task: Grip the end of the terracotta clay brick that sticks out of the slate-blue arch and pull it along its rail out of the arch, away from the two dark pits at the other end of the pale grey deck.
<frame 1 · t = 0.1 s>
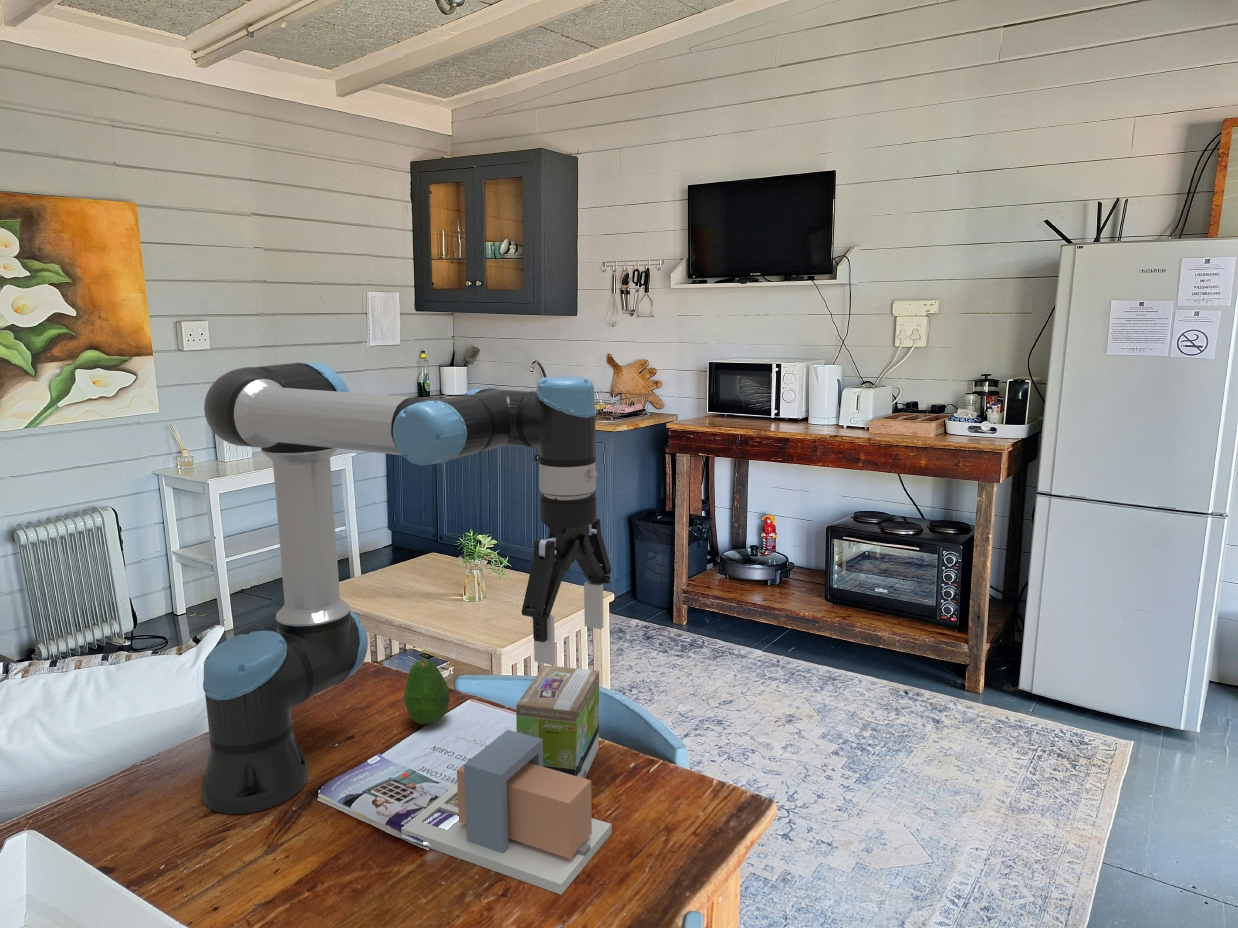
hand: (570, 643, 116), 28 cm above the table, tool pointing down, fingers open, 13 cm apart
avocado: (428, 723, 151), on the table
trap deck: (507, 835, 119), on the table
terracotta clay brick: (523, 801, 116), point 6 cm above the table, slide at 0.0 cm
tea box: (559, 771, 135), on the table
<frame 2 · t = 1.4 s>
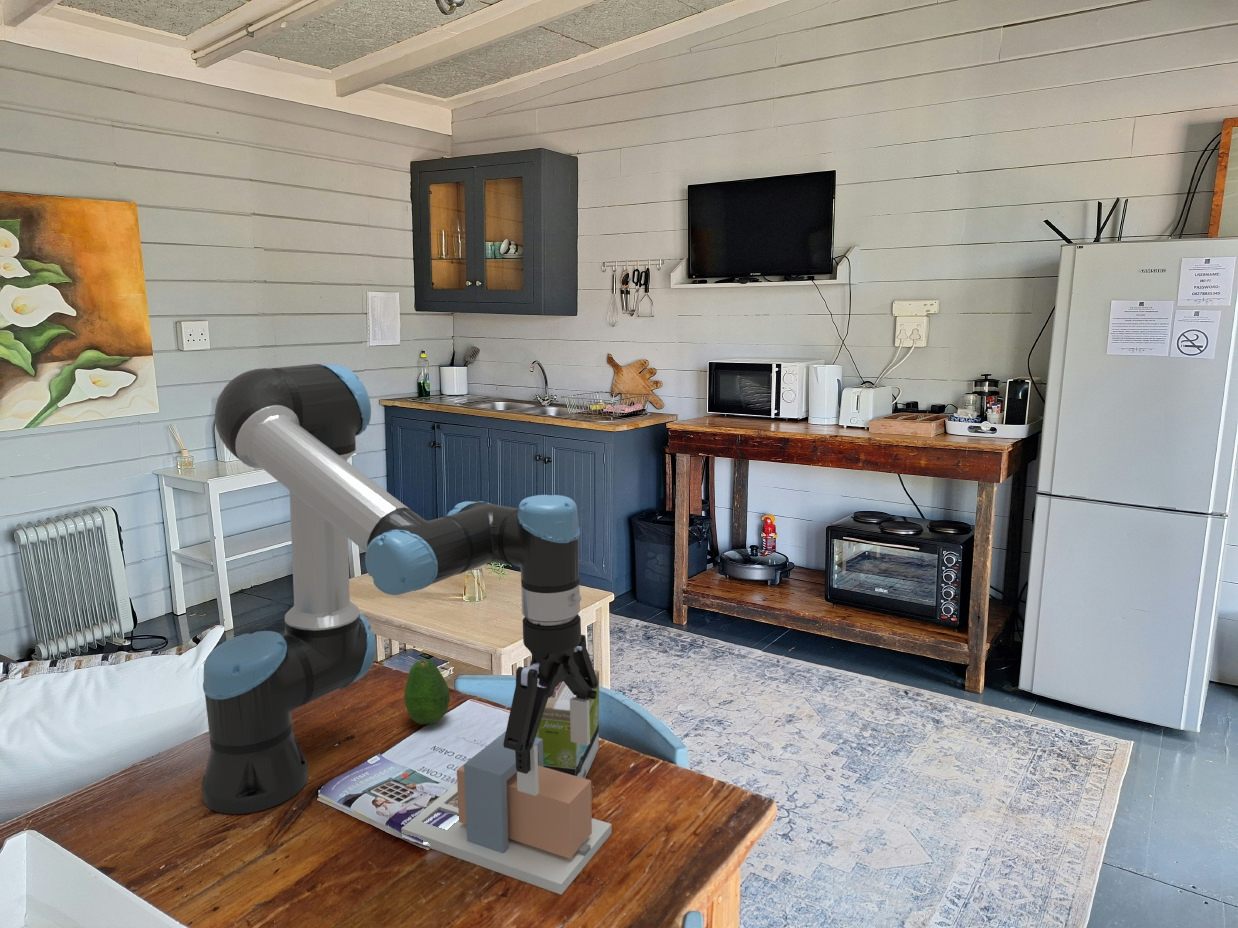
hand: (555, 765, 112), 13 cm above the table, tool pointing down, fingers open, 13 cm apart
nothing on the table moved.
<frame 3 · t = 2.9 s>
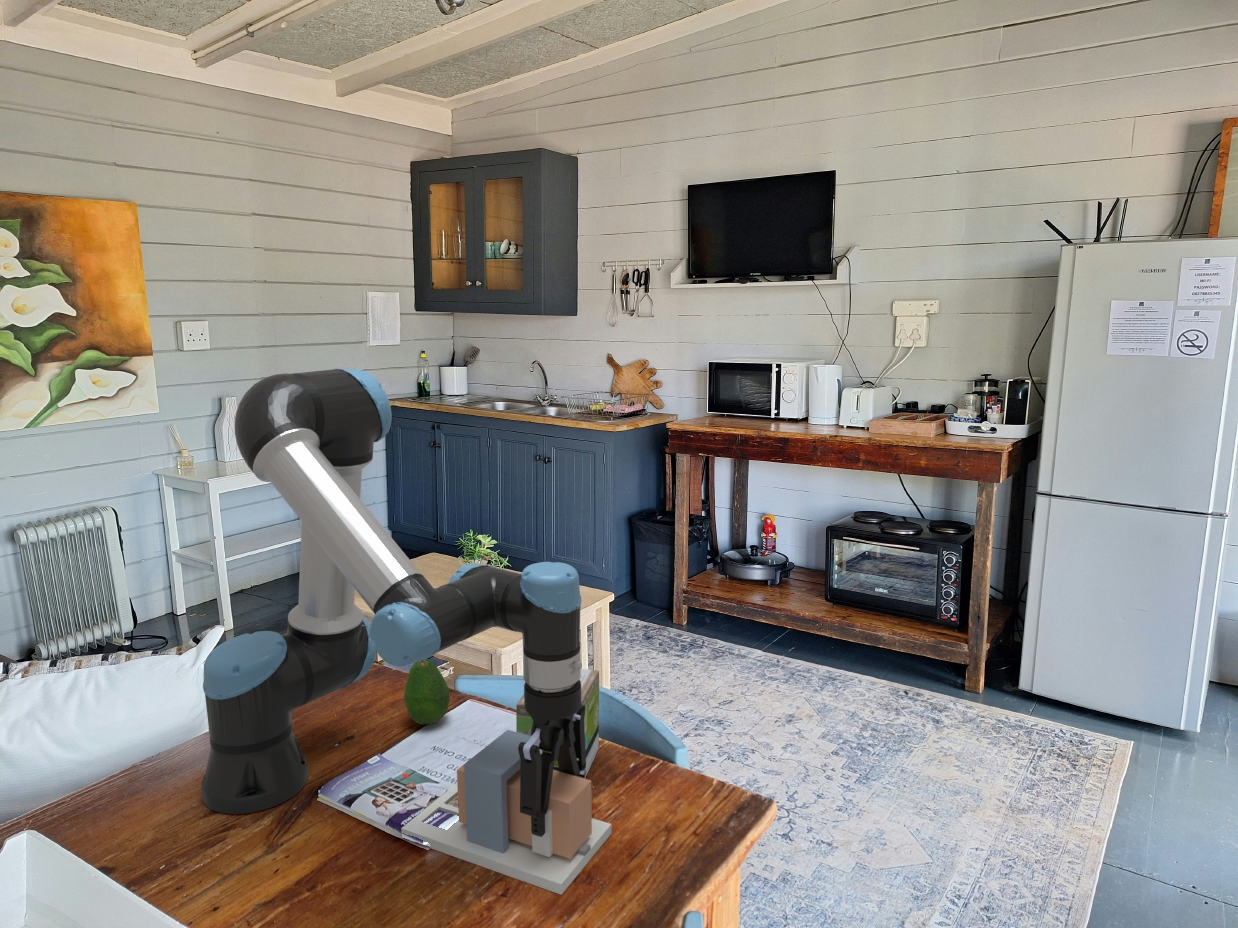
hand: (555, 838, 115), 2 cm above the table, tool pointing down, fingers closed on terracotta clay brick, 6 cm apart
terracotta clay brick: (523, 801, 116), point 6 cm above the table, slide at 0.0 cm, touching gripper
everything else where it was.
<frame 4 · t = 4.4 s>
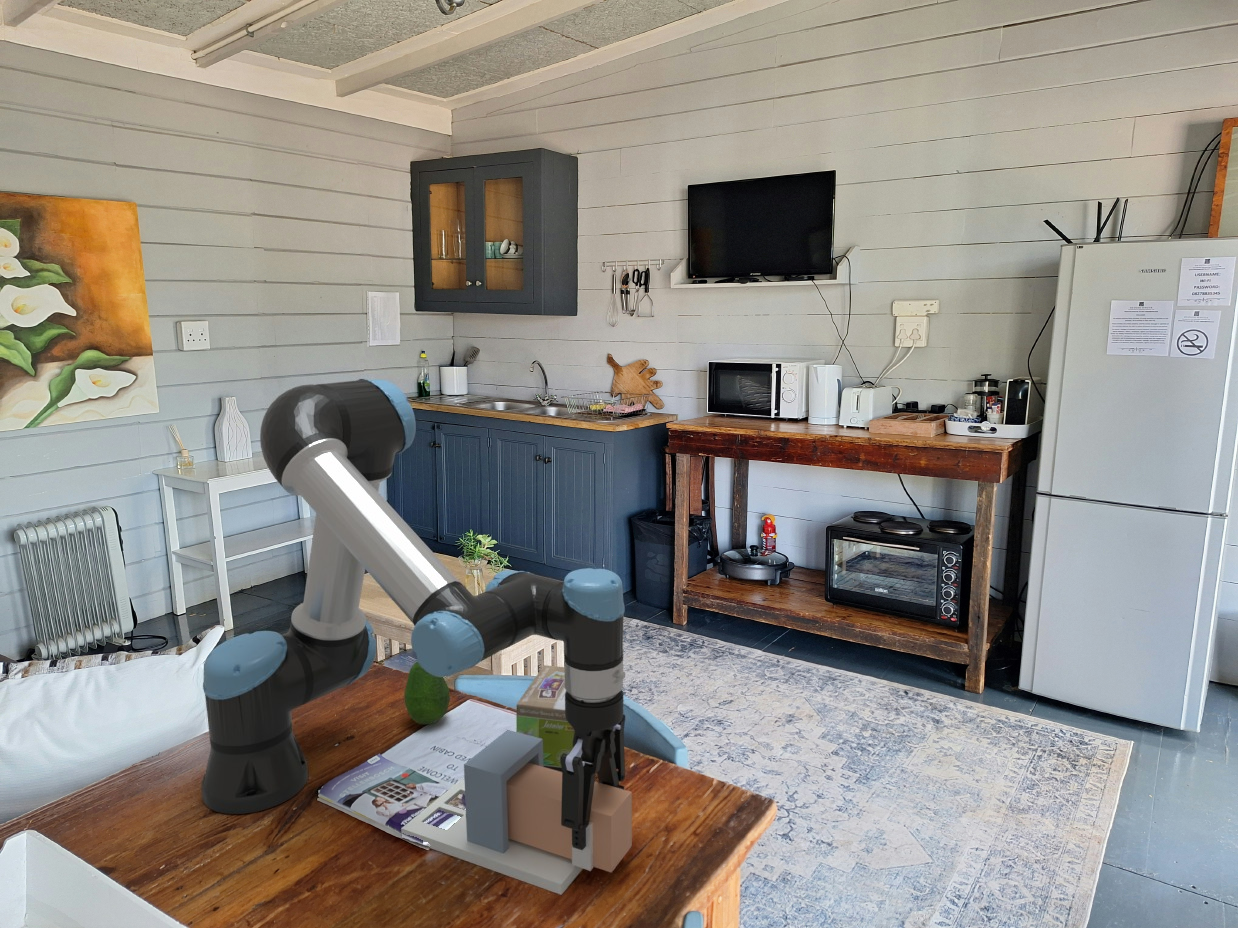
hand: (594, 850, 112), 2 cm above the table, tool pointing down, fingers closed on terracotta clay brick, 6 cm apart
terracotta clay brick: (562, 812, 113), point 6 cm above the table, slide at 6.1 cm, touching gripper
everything else where it was.
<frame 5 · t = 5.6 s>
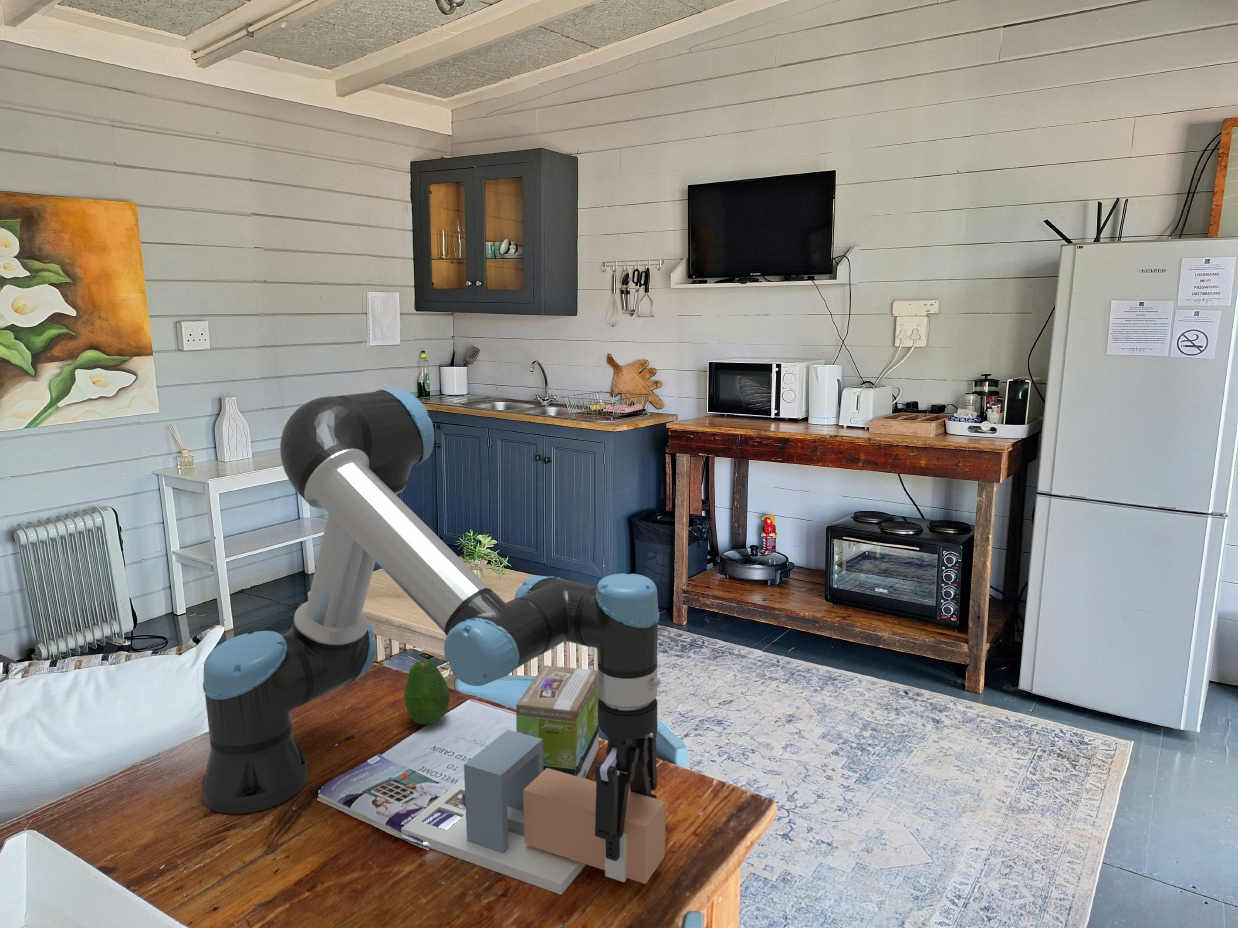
hand: (627, 861, 110), 2 cm above the table, tool pointing down, fingers closed on terracotta clay brick, 6 cm apart
terracotta clay brick: (593, 822, 111), point 6 cm above the table, slide at 11.0 cm, touching gripper
everything else where it was.
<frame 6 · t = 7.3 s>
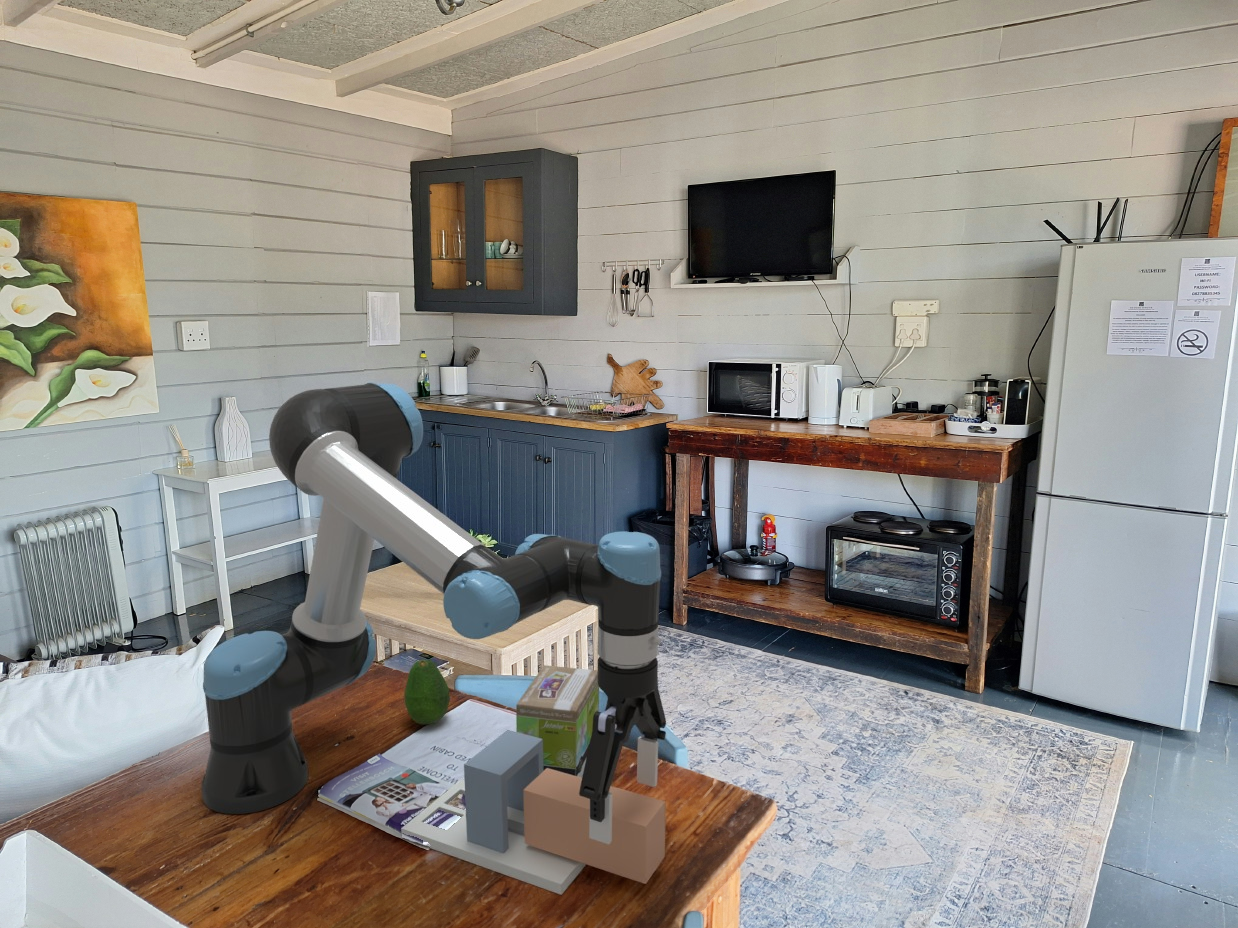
hand: (624, 809, 109), 9 cm above the table, tool pointing down, fingers open, 13 cm apart
terracotta clay brick: (593, 822, 111), point 6 cm above the table, slide at 11.0 cm
everything else where it was.
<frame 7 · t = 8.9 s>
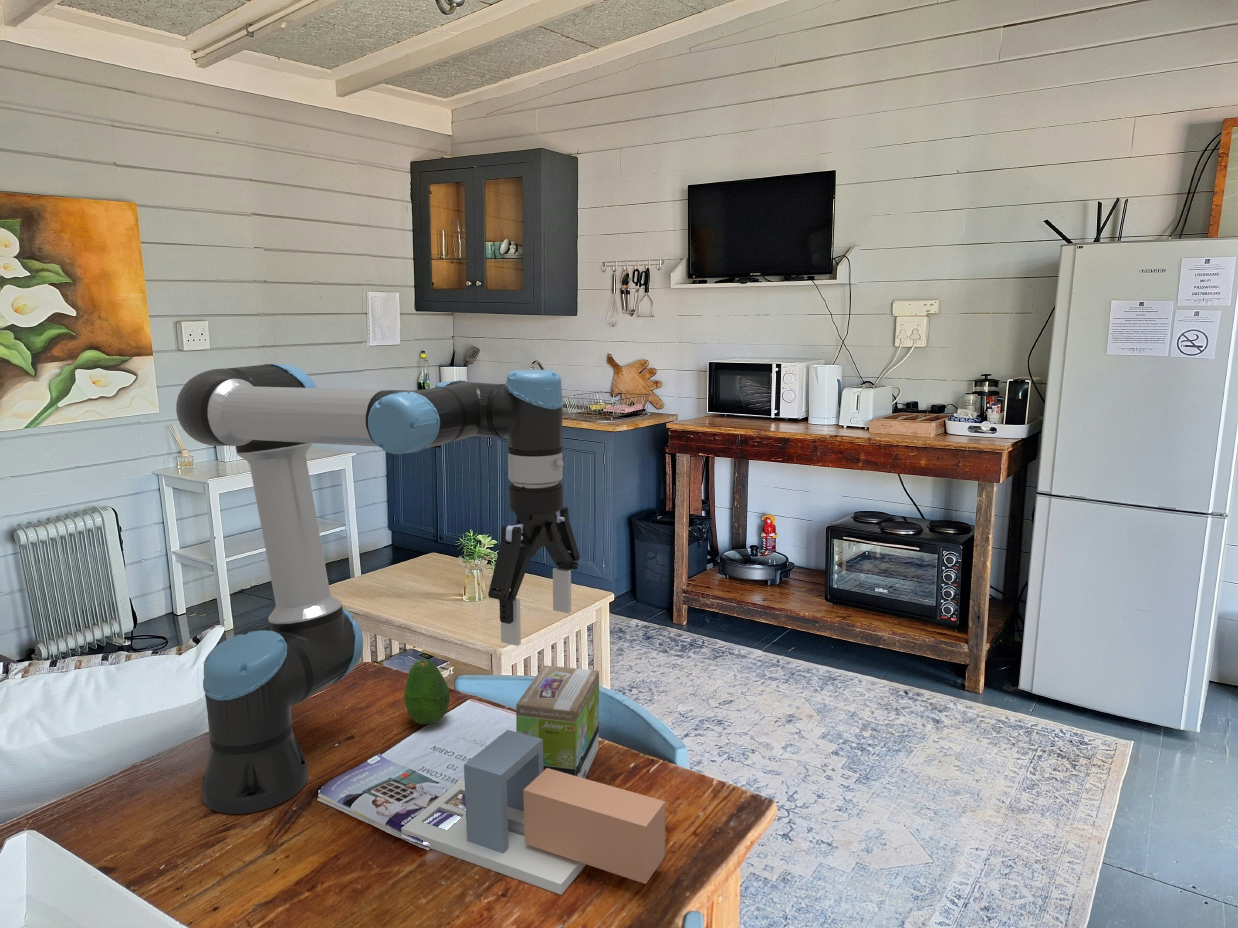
hand: (537, 626, 121), 28 cm above the table, tool pointing down, fingers open, 13 cm apart
nothing on the table moved.
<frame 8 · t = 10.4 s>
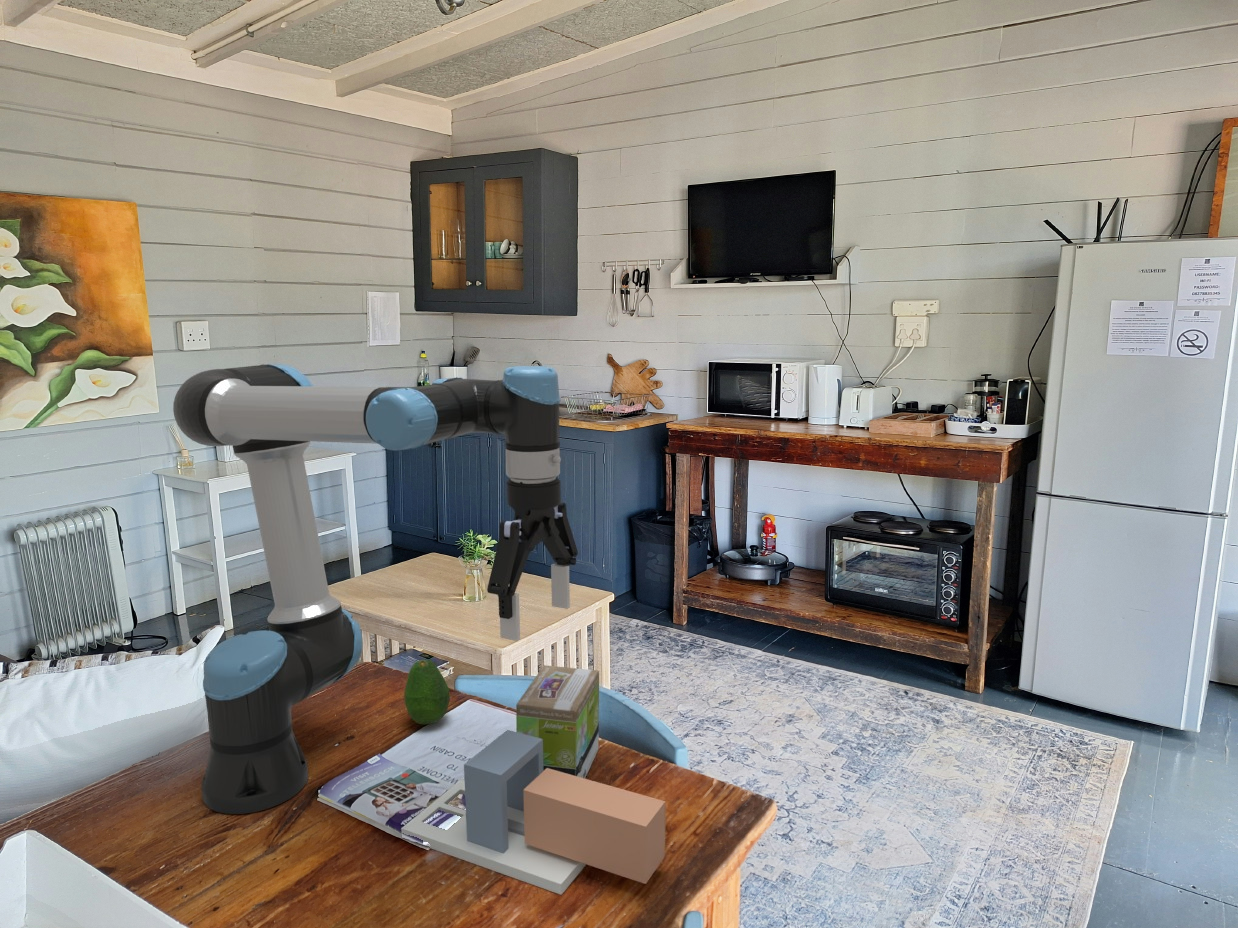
hand: (536, 622, 121), 29 cm above the table, tool pointing down, fingers open, 13 cm apart
nothing on the table moved.
at the end: terracotta clay brick slide at 11.0 cm; the gripper is holding nothing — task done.
